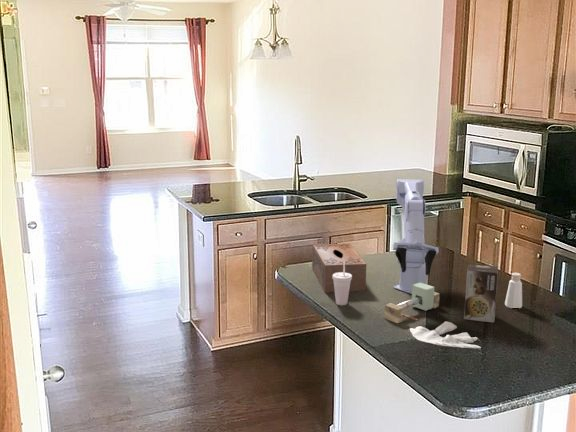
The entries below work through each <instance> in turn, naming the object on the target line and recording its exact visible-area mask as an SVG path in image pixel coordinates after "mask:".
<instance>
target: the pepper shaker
mask: <svg viewBox="0 0 576 432" xmlns="http://www.w3.org/2000/svg"><path fill="white" fill-rule="evenodd" d="M521 276H522V275H521V273H519V272H512V273H511V279H510V280H509V282H508V287H507V291H506V296H505V301H504V305H505V306H506V308H510V309H512V308H519V309H521V308H523V282H522V281H521V278H522V277H521Z"/></svg>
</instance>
